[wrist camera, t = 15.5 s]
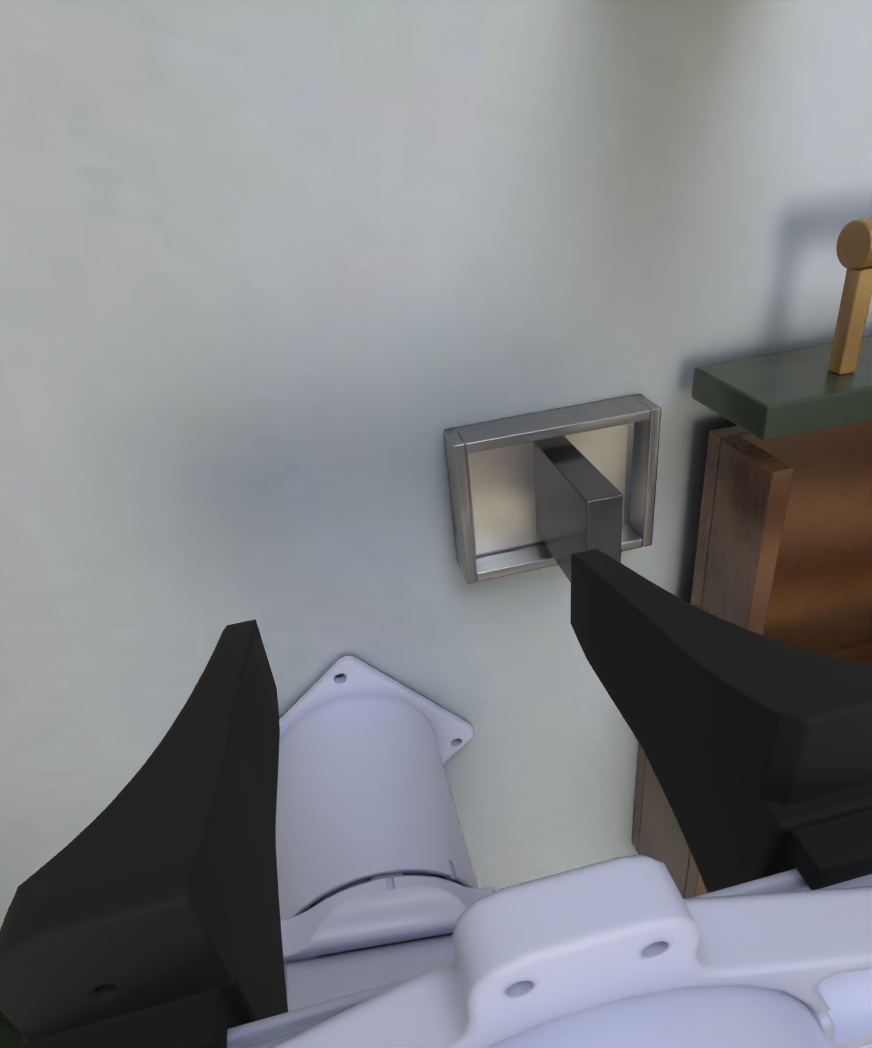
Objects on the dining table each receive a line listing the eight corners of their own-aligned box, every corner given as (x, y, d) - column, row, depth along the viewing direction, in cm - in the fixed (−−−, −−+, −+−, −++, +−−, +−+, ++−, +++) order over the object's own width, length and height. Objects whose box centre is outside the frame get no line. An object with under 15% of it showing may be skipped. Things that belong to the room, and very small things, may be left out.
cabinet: (647, 617, 31) (723, 712, 26) (909, 557, 33) (1030, 635, 28) (631, 842, 40) (686, 948, 34) (841, 785, 41) (923, 877, 36)
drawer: (706, 224, 22) (793, 241, 18) (1035, 175, 24) (1175, 182, 20) (664, 685, 32) (714, 754, 29) (895, 629, 34) (971, 688, 30)
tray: (443, 429, 25) (484, 495, 20) (640, 393, 26) (722, 449, 21) (457, 562, 28) (495, 647, 23) (633, 525, 28) (704, 600, 24)
